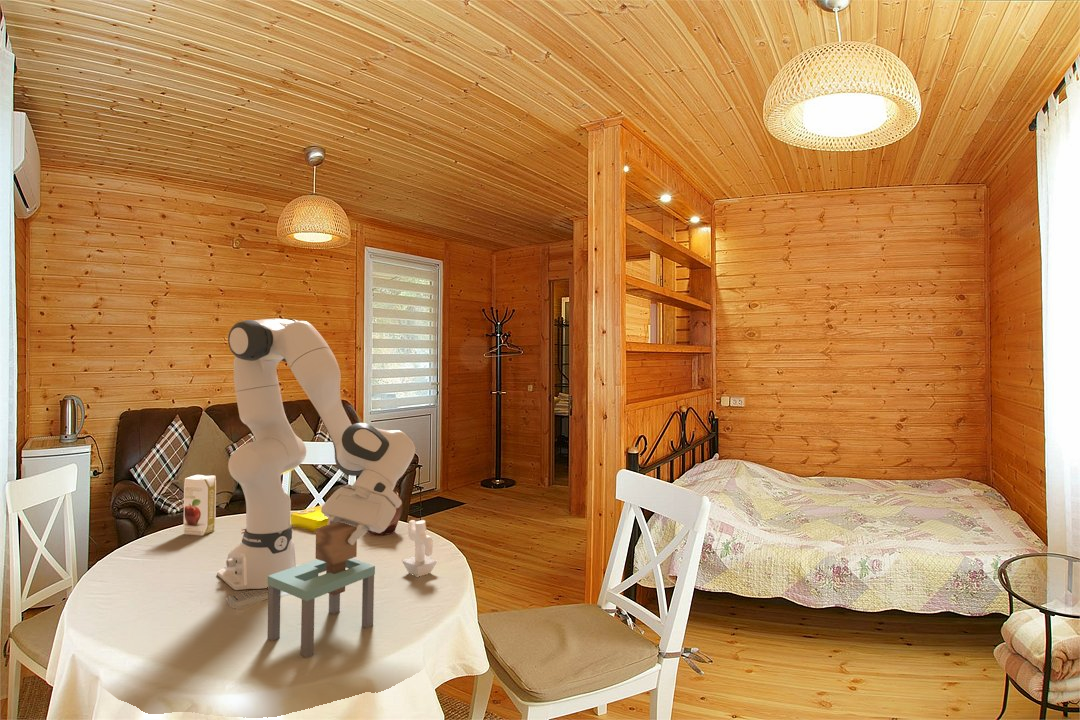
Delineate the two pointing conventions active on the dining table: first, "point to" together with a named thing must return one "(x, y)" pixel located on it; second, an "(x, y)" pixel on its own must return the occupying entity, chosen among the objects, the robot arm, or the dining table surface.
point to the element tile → (309, 519)
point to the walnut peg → (335, 548)
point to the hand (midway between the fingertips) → (337, 539)
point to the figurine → (420, 550)
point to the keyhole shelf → (317, 595)
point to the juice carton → (199, 505)
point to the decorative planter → (392, 524)
